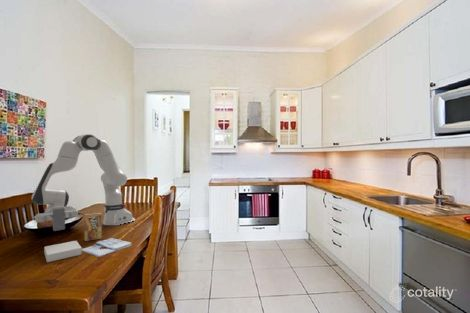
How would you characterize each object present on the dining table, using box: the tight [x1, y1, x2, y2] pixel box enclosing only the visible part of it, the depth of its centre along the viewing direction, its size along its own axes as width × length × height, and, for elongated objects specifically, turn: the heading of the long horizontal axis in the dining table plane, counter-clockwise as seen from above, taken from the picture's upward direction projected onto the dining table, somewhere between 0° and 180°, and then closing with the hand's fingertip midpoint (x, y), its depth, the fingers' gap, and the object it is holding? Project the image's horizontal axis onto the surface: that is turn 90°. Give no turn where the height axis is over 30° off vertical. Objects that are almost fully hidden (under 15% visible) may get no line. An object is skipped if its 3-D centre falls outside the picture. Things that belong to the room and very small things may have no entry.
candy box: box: [84, 212, 103, 242], centre depth 147 cm, size 9×4×15 cm, turn 119°
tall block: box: [52, 207, 66, 232], centre depth 138 cm, size 5×5×12 cm
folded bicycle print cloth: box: [81, 237, 133, 258], centre depth 134 cm, size 19×20×2 cm
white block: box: [43, 240, 82, 263], centre depth 125 cm, size 14×14×4 cm
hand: (59, 218), depth 137 cm, fingers closed on tall block, 5 cm apart
